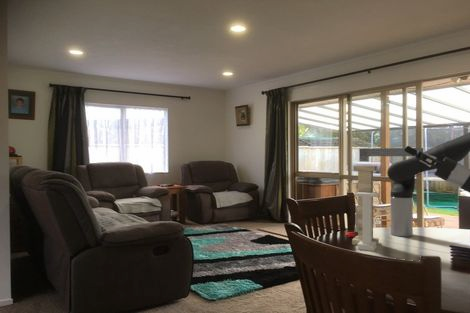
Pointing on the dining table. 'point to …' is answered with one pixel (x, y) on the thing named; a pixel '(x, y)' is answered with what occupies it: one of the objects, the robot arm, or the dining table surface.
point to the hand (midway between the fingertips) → (406, 148)
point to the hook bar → (383, 152)
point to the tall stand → (363, 186)
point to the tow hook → (355, 233)
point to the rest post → (366, 221)
